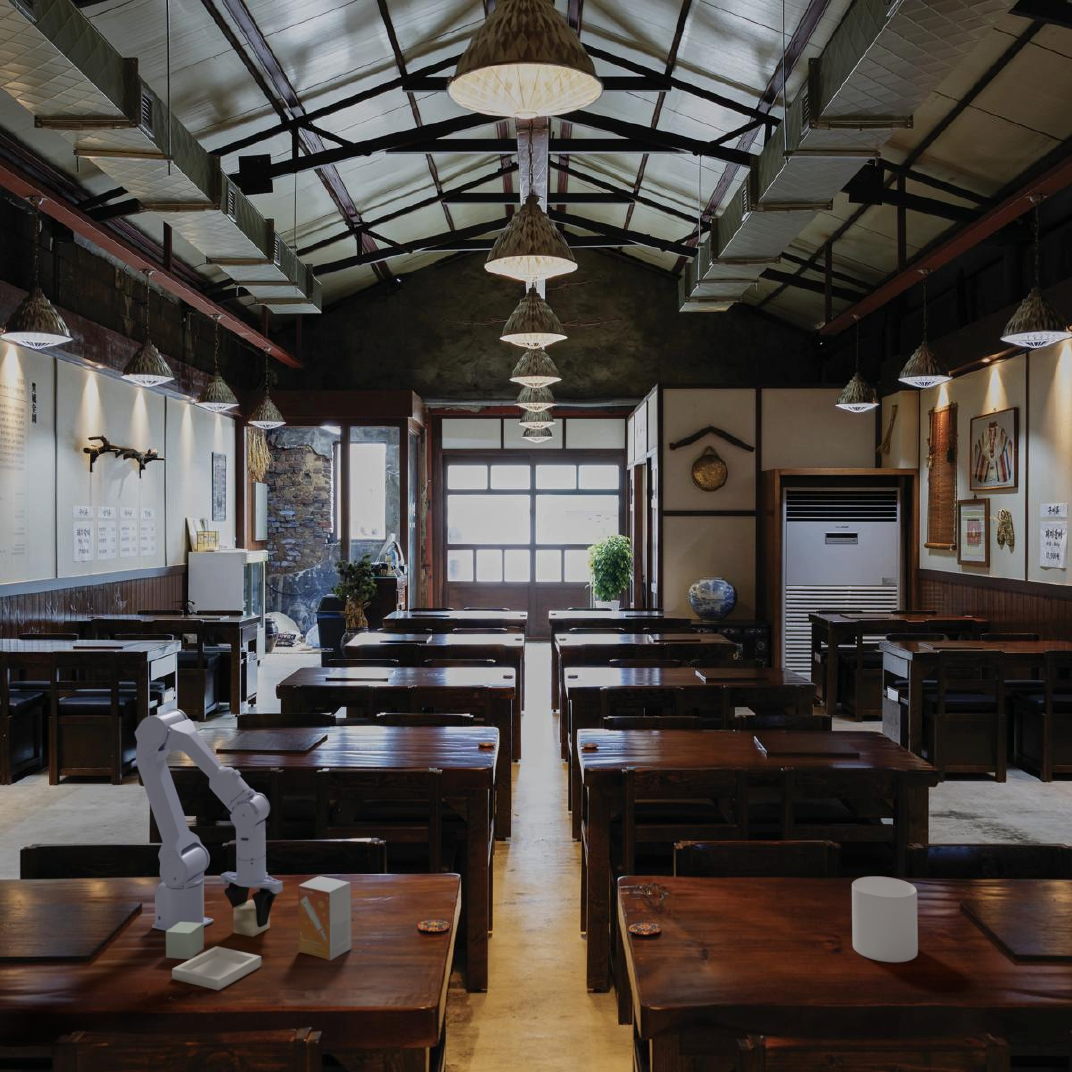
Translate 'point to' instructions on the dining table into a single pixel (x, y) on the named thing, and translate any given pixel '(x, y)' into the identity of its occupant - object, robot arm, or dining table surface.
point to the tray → (216, 968)
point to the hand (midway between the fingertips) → (251, 923)
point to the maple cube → (247, 919)
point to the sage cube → (184, 940)
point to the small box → (324, 917)
